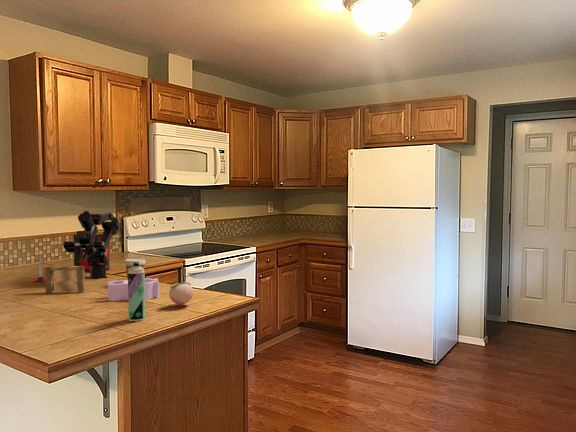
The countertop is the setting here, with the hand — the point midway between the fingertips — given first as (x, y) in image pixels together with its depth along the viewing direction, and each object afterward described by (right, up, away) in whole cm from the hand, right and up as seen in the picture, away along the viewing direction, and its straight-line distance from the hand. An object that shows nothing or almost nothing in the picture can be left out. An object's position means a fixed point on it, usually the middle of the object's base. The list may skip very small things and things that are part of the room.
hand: (80, 261), depth 215 cm
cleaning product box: (-13, -9, +42) cm, 45 cm away
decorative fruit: (+55, -14, -35) cm, 67 cm away
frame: (-1, -12, -12) cm, 17 cm away
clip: (+32, -13, -21) cm, 40 cm away
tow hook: (-24, -11, +15) cm, 30 cm away
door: (-1, -12, -12) cm, 17 cm away
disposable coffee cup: (+24, -12, +4) cm, 27 cm away
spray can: (+44, -15, -54) cm, 71 cm away
